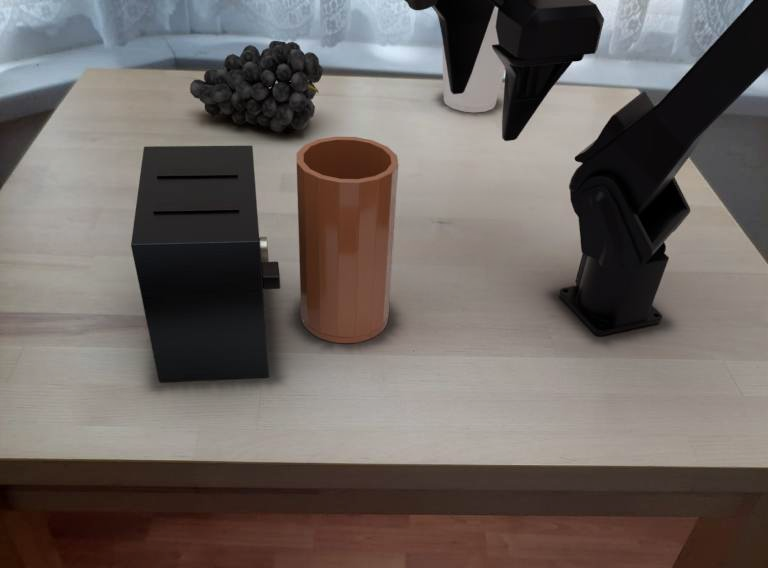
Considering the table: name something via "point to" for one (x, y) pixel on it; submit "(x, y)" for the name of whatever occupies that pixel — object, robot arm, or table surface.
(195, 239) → the toaster
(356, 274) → the brown cylindrical vase
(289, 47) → the fruit
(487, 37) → the foam cup
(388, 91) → the table surface
